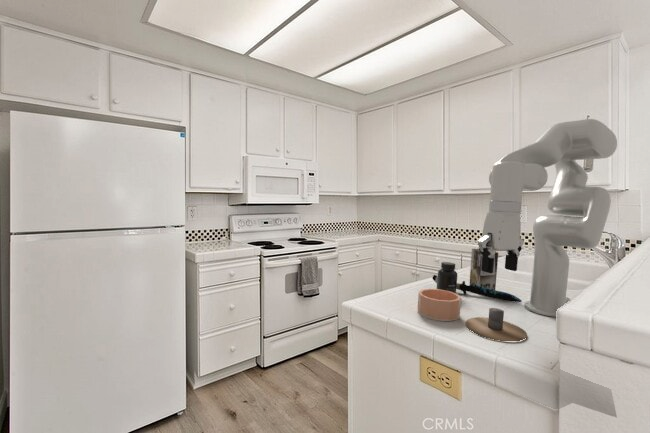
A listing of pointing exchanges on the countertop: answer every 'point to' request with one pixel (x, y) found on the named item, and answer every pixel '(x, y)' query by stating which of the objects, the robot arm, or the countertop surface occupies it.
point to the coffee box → (480, 276)
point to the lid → (496, 327)
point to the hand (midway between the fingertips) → (499, 270)
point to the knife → (484, 291)
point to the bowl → (439, 304)
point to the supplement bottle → (447, 277)
